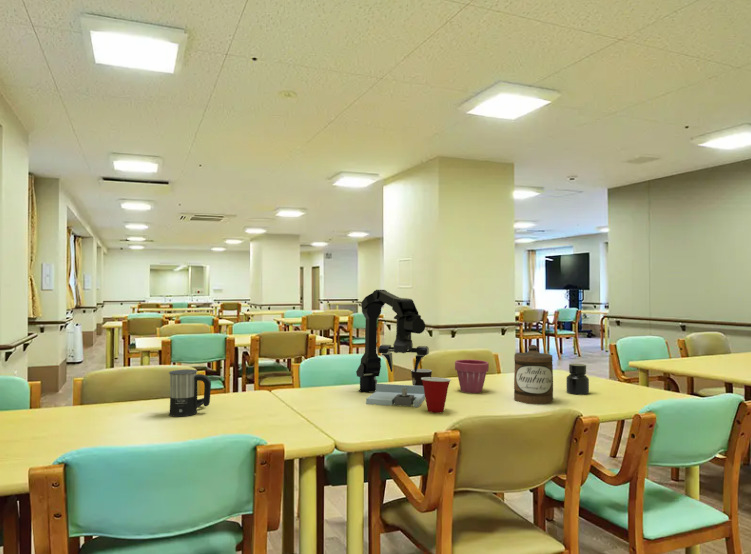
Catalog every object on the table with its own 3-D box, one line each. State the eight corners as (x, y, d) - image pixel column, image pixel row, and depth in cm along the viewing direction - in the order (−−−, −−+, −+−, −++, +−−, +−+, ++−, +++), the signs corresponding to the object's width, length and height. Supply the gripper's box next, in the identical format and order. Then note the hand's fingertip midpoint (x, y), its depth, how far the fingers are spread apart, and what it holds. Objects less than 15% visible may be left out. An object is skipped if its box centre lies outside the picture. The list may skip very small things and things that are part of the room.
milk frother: (169, 418, 178) (170, 373, 178) (164, 408, 192) (165, 367, 192) (213, 414, 184) (214, 371, 184) (205, 405, 198) (206, 365, 198)
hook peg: (401, 404, 202) (401, 388, 202) (402, 403, 204) (402, 387, 204) (406, 404, 201) (406, 388, 201) (407, 403, 203) (407, 387, 203)
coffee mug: (432, 396, 216) (432, 372, 216) (411, 396, 216) (411, 372, 216) (430, 391, 228) (430, 367, 228) (410, 391, 228) (410, 367, 228)
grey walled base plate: (366, 404, 202) (366, 390, 202) (376, 395, 217) (376, 383, 217) (418, 407, 197) (418, 393, 197) (424, 398, 212) (425, 386, 213)
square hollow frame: (394, 405, 200) (394, 397, 200) (397, 401, 206) (397, 394, 206) (411, 406, 198) (411, 398, 198) (414, 402, 205) (414, 395, 205)
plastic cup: (454, 409, 194) (454, 376, 194) (445, 415, 184) (445, 381, 184) (426, 406, 199) (426, 374, 199) (416, 412, 189) (416, 378, 189)
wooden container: (515, 403, 205) (516, 346, 205) (512, 395, 220) (512, 342, 220) (556, 405, 203) (556, 347, 203) (549, 397, 217) (549, 343, 218)
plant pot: (493, 390, 231) (493, 360, 231) (481, 395, 219) (481, 364, 219) (462, 387, 239) (462, 358, 239) (449, 392, 227) (449, 361, 227)
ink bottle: (594, 393, 225) (594, 365, 226) (581, 396, 220) (581, 367, 221) (574, 390, 233) (574, 362, 234) (561, 392, 228) (561, 364, 229)
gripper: (375, 332, 198) (374, 374, 198) (424, 334, 194) (424, 377, 194) (382, 330, 209) (381, 369, 209) (429, 331, 205) (428, 372, 204)
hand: (403, 372), depth 204 cm, fingers open, 9 cm apart
